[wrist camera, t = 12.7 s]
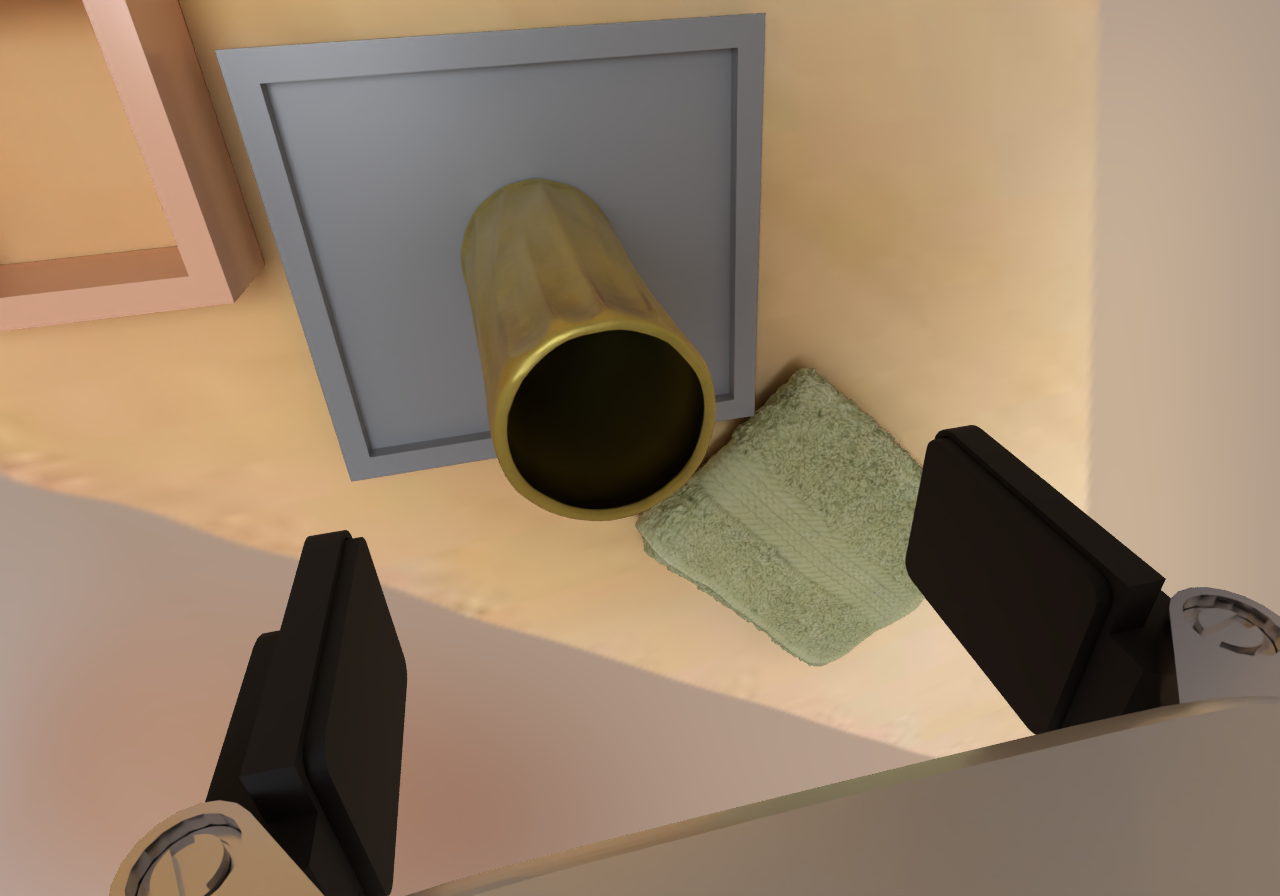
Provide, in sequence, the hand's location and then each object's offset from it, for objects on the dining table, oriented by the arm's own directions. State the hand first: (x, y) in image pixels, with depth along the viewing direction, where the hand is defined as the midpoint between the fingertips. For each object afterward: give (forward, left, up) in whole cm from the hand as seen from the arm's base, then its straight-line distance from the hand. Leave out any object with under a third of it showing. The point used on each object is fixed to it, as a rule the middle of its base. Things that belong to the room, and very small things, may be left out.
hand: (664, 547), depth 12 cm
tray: (0, +1, -20) cm, 20 cm away
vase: (0, 0, -19) cm, 19 cm away
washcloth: (-13, +17, -20) cm, 29 cm away
